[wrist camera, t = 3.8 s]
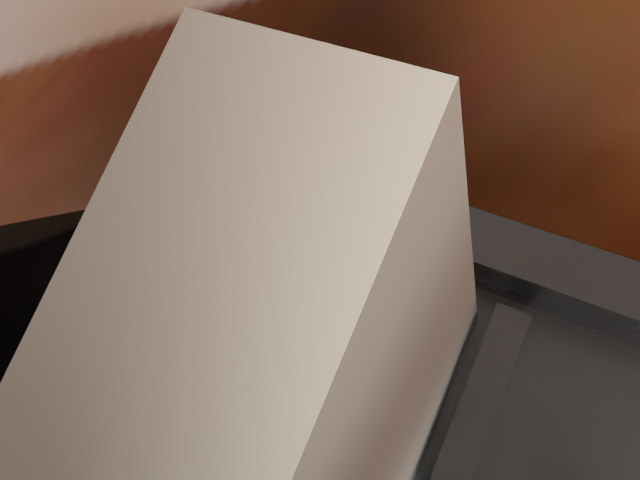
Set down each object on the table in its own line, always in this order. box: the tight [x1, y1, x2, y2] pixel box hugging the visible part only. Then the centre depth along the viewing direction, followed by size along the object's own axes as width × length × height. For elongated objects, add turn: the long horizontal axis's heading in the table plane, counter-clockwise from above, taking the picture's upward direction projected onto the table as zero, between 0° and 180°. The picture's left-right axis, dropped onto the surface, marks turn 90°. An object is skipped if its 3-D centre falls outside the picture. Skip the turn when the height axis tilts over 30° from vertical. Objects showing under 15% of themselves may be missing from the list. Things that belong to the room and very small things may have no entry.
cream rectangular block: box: [0, 7, 477, 480], centre depth 10 cm, size 4×2×12 cm, turn 156°
